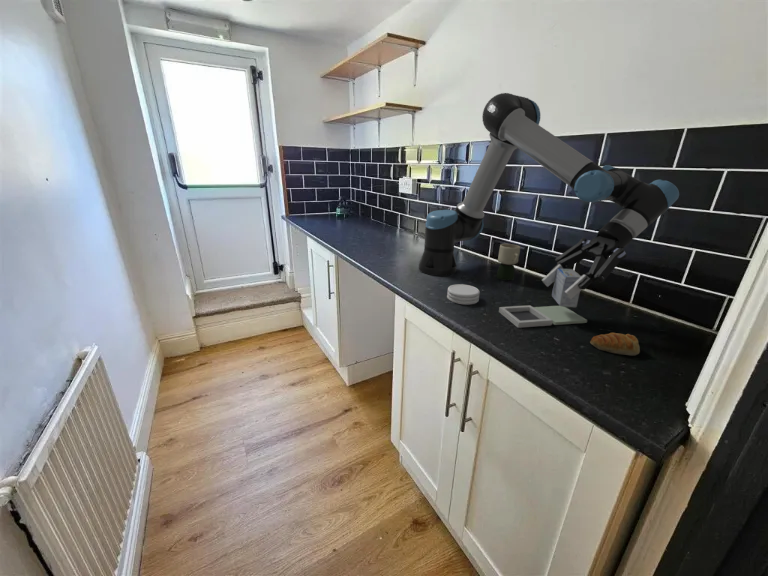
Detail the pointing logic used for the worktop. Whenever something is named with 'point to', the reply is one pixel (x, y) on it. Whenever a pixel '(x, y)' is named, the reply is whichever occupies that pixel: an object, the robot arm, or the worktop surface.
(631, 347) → the pastry
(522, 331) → the worktop surface
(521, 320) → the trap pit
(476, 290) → the coaster
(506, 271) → the character mug
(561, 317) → the pad
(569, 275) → the medicine box
